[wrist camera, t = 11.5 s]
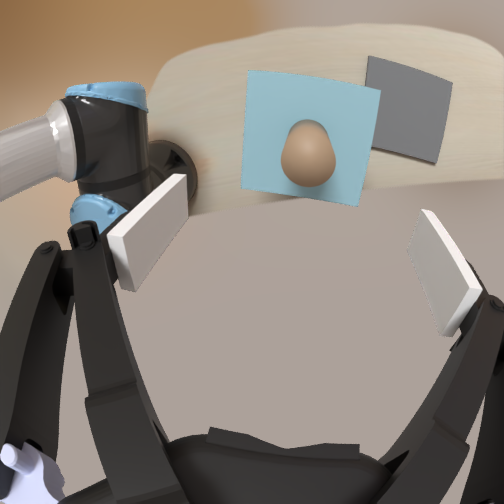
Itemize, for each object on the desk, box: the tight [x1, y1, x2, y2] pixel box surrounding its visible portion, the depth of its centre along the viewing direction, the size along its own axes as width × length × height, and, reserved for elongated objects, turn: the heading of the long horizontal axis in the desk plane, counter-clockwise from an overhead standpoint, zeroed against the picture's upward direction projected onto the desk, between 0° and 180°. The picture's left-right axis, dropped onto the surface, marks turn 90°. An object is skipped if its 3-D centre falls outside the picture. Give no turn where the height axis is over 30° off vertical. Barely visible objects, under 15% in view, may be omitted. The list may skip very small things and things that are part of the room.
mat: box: [365, 56, 453, 163], centre depth 40 cm, size 16×16×1 cm
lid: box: [241, 70, 381, 207], centre depth 26 cm, size 14×14×10 cm
